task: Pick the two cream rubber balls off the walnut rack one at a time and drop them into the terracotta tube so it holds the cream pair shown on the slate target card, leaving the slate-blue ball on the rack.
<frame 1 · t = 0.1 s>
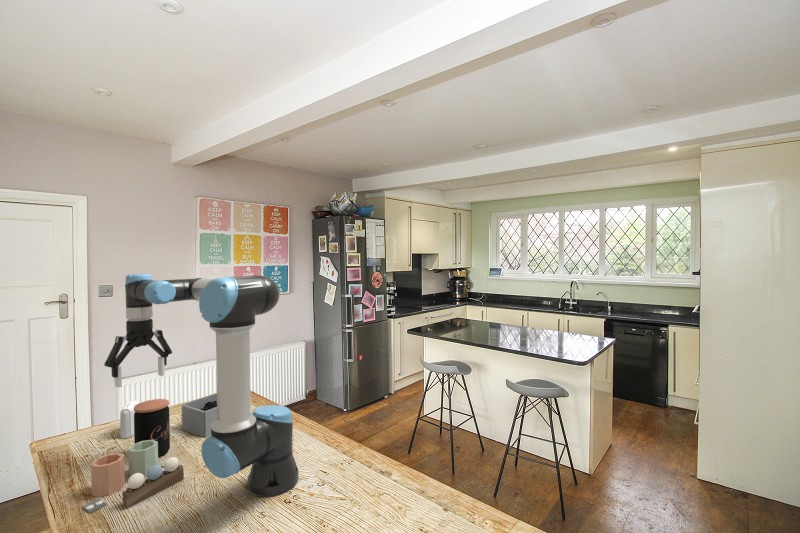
hand: (140, 380, 132), 28 cm above the table, fingers open, 13 cm apart
cream ball 1: (136, 487, 110), point 4 cm above the table, touching rack
rack: (154, 492, 115), on the table
blue ball: (154, 478, 115), point 4 cm above the table, touching rack
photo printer: (131, 433, 154), on the table
film camera: (215, 424, 162), resting in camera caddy
tubes: (108, 488, 116), on the table
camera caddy: (216, 423, 162), on the table
coffee jar: (152, 454, 137), on the table
cream ball 2: (171, 470, 119), point 4 cm above the table, touching rack
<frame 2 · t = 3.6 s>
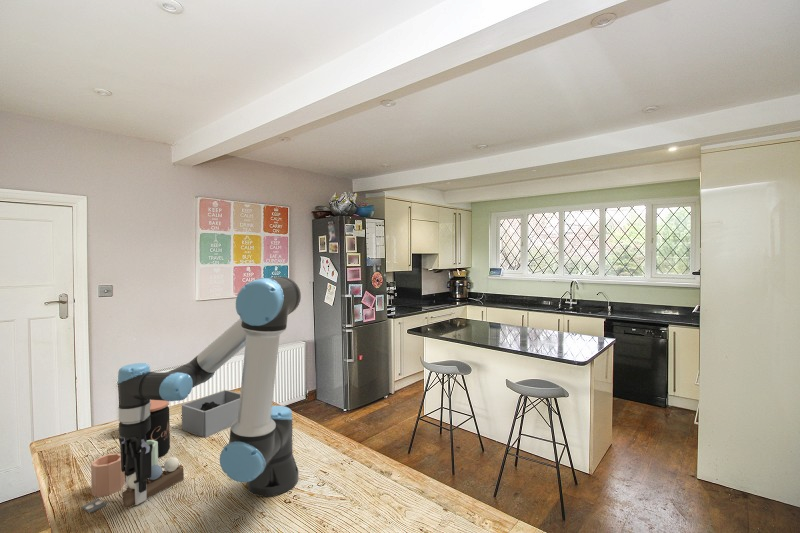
hand: (136, 499, 110), 1 cm above the table, fingers closed on cream ball 1, 4 cm apart
cream ball 1: (136, 487, 110), point 4 cm above the table, touching gripper, rack
film camera: (212, 425, 161), resting in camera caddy
everything else where it was.
when the fingers open (10 cm above the table, at t = 5.9 s): cream ball 1 drops 13 cm, resting on tubes.
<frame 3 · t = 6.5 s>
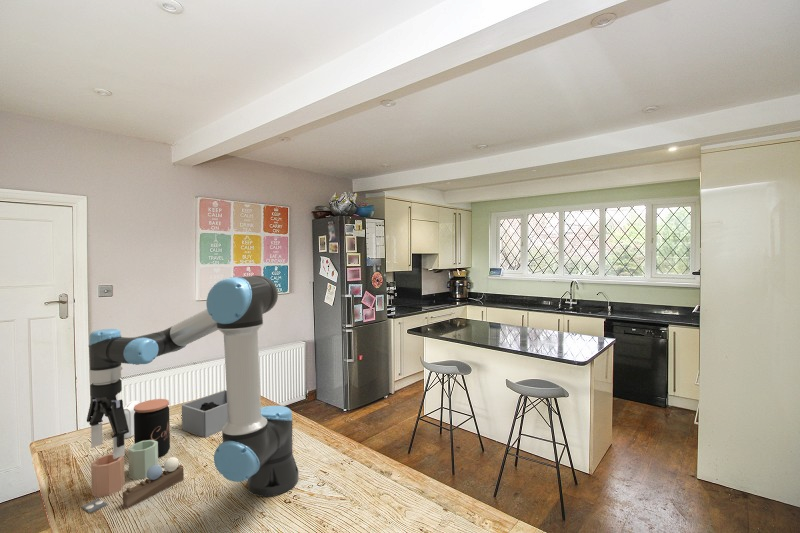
hand: (107, 451, 116), 12 cm above the table, fingers open, 13 cm apart
cream ball 1: (108, 487, 116), point 1 cm above the table, touching tubes
everything else where it was.
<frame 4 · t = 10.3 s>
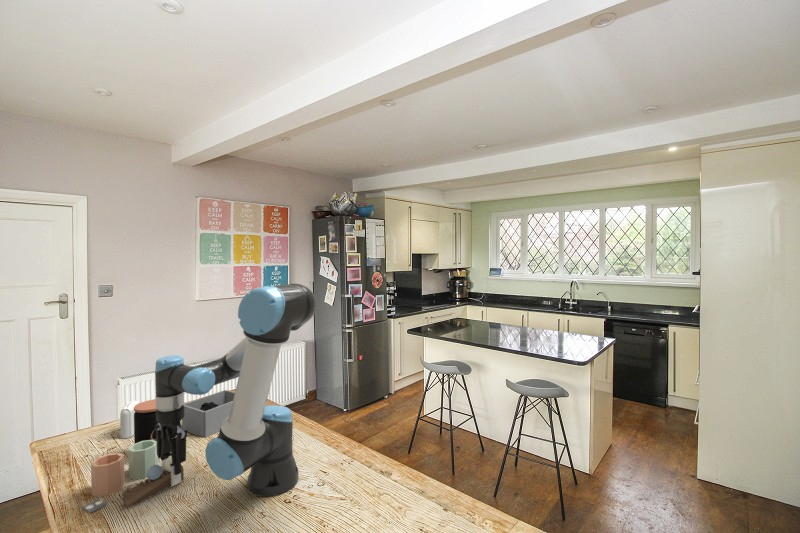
hand: (171, 481, 119), 1 cm above the table, fingers closed on cream ball 2, 4 cm apart
cream ball 1: (108, 486, 116), point 1 cm above the table, tilted 21°, touching tubes
cream ball 2: (171, 470, 119), point 4 cm above the table, touching gripper, rack
everything else where it was.
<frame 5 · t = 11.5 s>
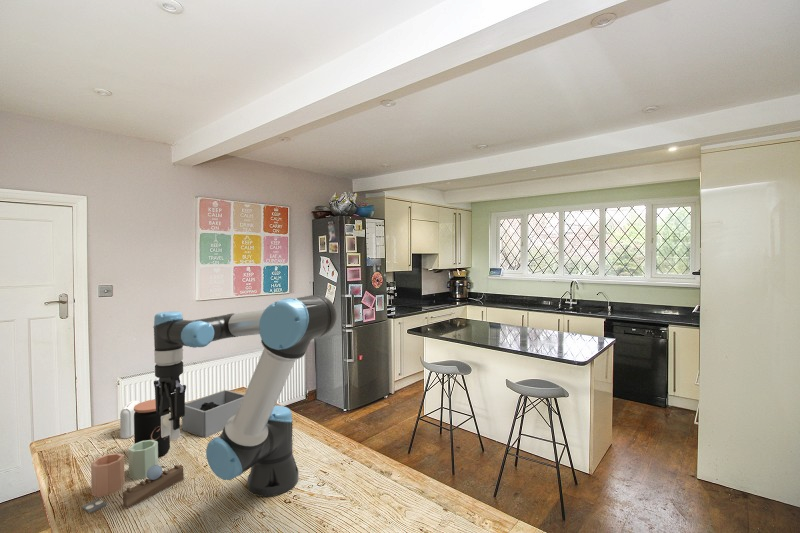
hand: (170, 437, 119), 15 cm above the table, fingers closed on cream ball 2, 4 cm apart
cream ball 1: (108, 486, 116), point 1 cm above the table, tilted 27°, touching tubes
cream ball 2: (170, 426, 119), point 18 cm above the table, touching gripper
everything else where it was.
when the fingers open (10 cm above the table, at t = 12.8 s): cream ball 2 drops 9 cm and tips over, resting on cream ball 1, tubes.
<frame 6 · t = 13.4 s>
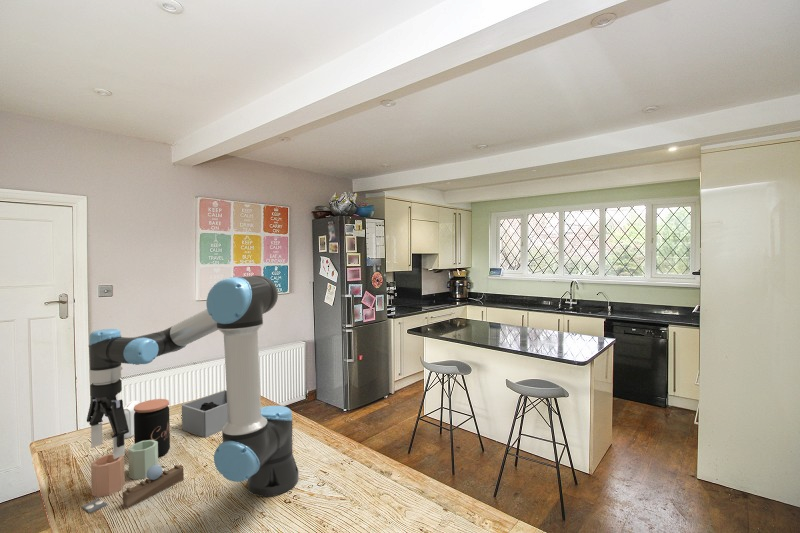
hand: (107, 451, 116), 12 cm above the table, fingers open, 13 cm apart
cream ball 1: (108, 486, 116), point 1 cm above the table, tilted 27°, touching cream ball 2, tubes
cream ball 2: (108, 473, 117), point 5 cm above the table, tilted 38°, touching cream ball 1, tubes
everything else where it was.
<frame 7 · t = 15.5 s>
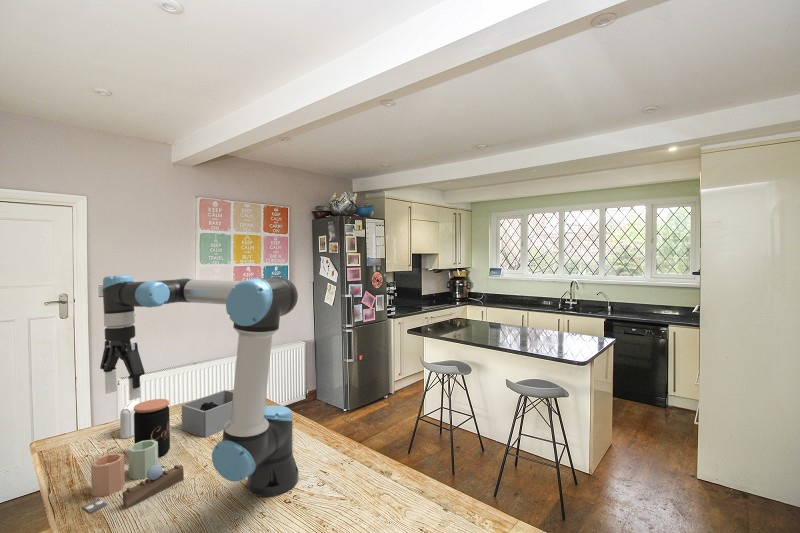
hand: (122, 395, 117), 28 cm above the table, fingers open, 13 cm apart
nothing on the table moved.
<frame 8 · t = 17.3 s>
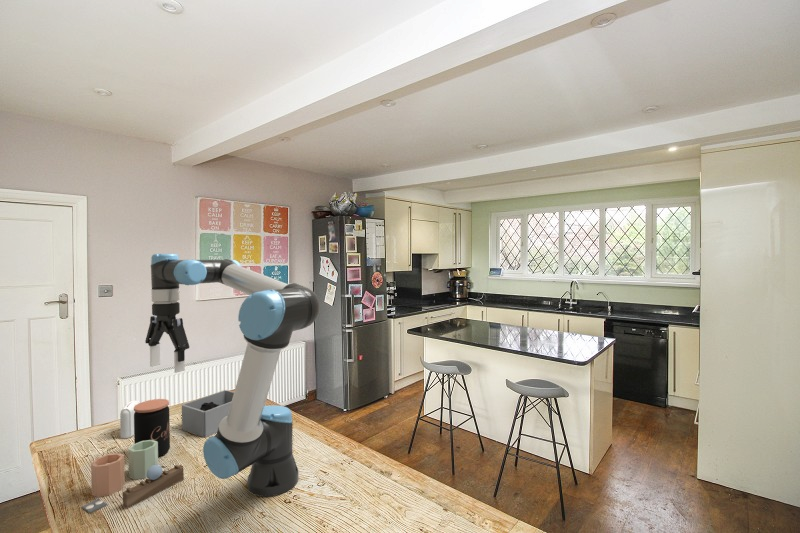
hand: (167, 368, 122), 35 cm above the table, fingers open, 13 cm apart
film camera: (212, 425, 161), resting in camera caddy
everything else where it was.
at the end: cream ball 1 0.0 cm off-centre on the tubes, point 0.8 cm above the tubes's base; cream ball 2 0.3 cm off-centre on the tubes, point 4.5 cm above the tubes's base; blue ball moved 0.0 cm from its start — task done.
